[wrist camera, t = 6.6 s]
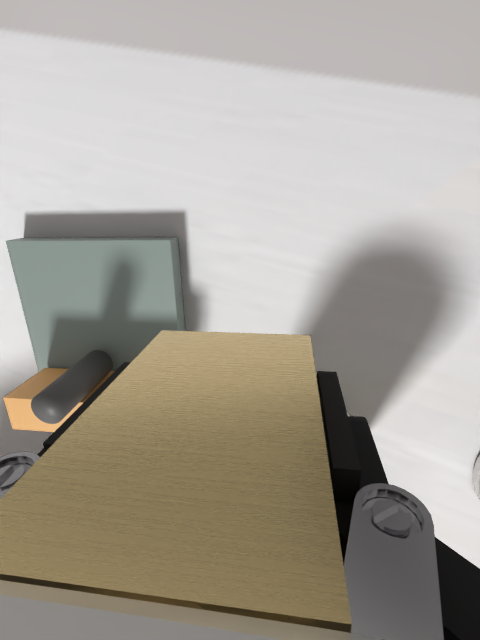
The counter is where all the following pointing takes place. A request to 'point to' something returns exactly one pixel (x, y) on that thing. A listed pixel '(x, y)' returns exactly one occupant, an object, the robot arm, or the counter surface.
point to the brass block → (191, 487)
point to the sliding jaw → (56, 393)
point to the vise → (97, 295)
